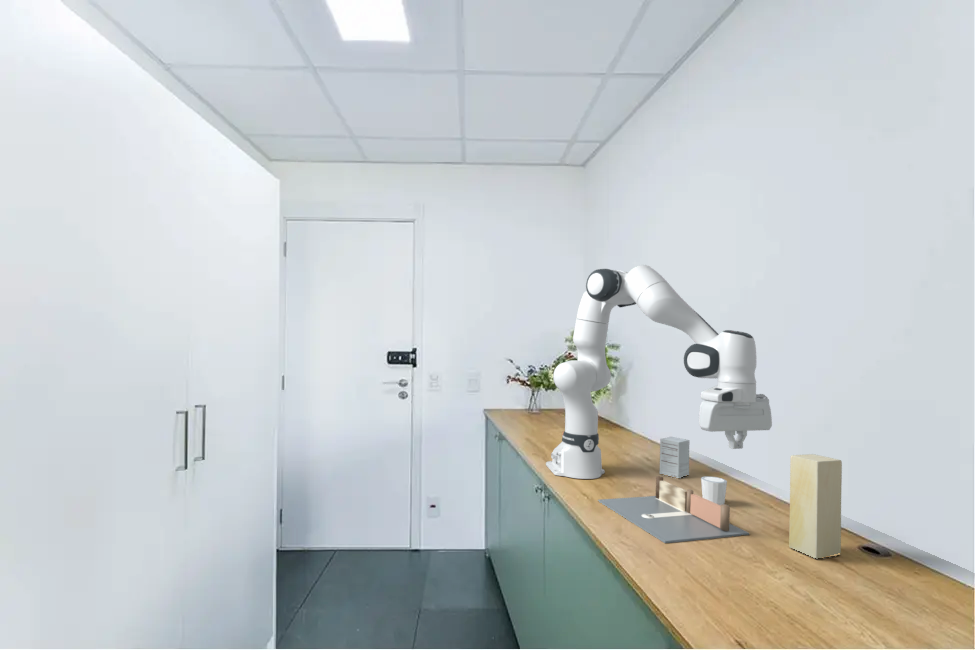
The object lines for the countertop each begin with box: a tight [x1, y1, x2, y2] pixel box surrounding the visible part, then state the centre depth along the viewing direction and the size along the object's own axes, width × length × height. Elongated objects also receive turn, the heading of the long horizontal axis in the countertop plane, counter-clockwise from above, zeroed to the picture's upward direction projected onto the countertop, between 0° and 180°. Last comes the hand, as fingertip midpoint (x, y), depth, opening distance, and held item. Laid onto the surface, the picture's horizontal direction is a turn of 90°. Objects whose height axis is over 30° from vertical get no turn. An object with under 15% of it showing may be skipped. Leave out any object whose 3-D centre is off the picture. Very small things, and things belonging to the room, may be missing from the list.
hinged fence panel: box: [686, 489, 731, 531], centre depth 128 cm, size 14×2×6 cm, turn 17°
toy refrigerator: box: [788, 453, 843, 560], centre depth 113 cm, size 8×7×21 cm
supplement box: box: [659, 436, 690, 479], centre depth 175 cm, size 7×7×13 cm
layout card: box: [597, 495, 750, 544], centre depth 132 cm, size 30×24×1 cm
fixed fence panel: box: [655, 475, 687, 511], centre depth 141 cm, size 13×2×6 cm, turn 17°
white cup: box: [700, 476, 728, 506], centre depth 145 cm, size 7×7×7 cm
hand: (735, 448), depth 128 cm, fingers closed
